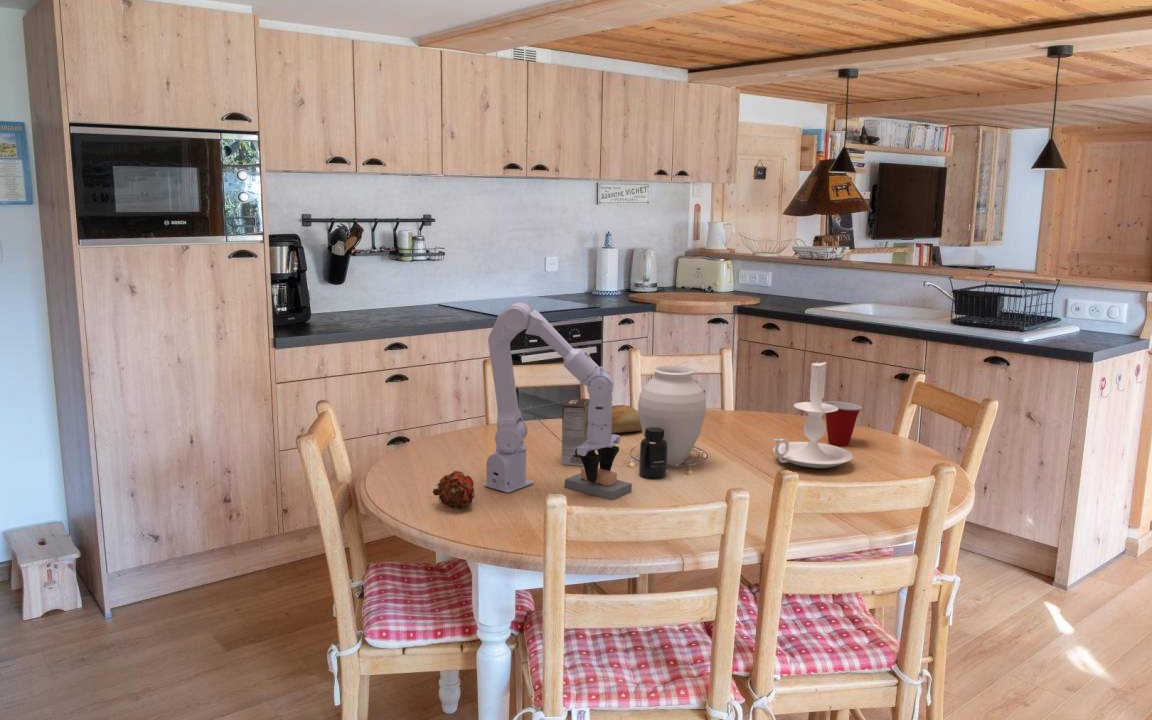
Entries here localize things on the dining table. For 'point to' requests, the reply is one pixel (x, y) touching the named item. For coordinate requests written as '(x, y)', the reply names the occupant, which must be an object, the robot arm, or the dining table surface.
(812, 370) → the candlestick
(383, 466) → the dining table surface
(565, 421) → the coffee box
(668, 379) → the vase
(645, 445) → the supplement bottle
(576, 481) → the gray rectangular slab
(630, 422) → the bread roll
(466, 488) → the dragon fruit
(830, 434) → the plastic cup
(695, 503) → the dining table surface
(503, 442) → the robot arm
